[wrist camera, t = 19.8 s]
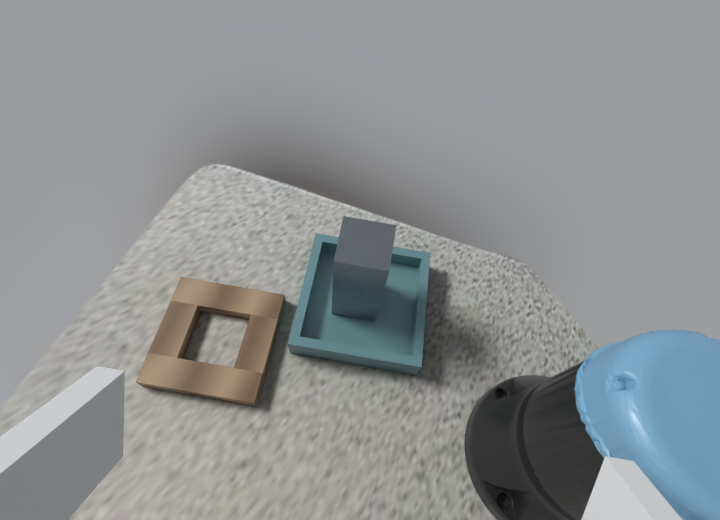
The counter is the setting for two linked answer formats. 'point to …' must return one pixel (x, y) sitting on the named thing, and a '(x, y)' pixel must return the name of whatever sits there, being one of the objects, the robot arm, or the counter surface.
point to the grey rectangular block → (361, 267)
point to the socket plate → (203, 378)
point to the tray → (361, 337)
